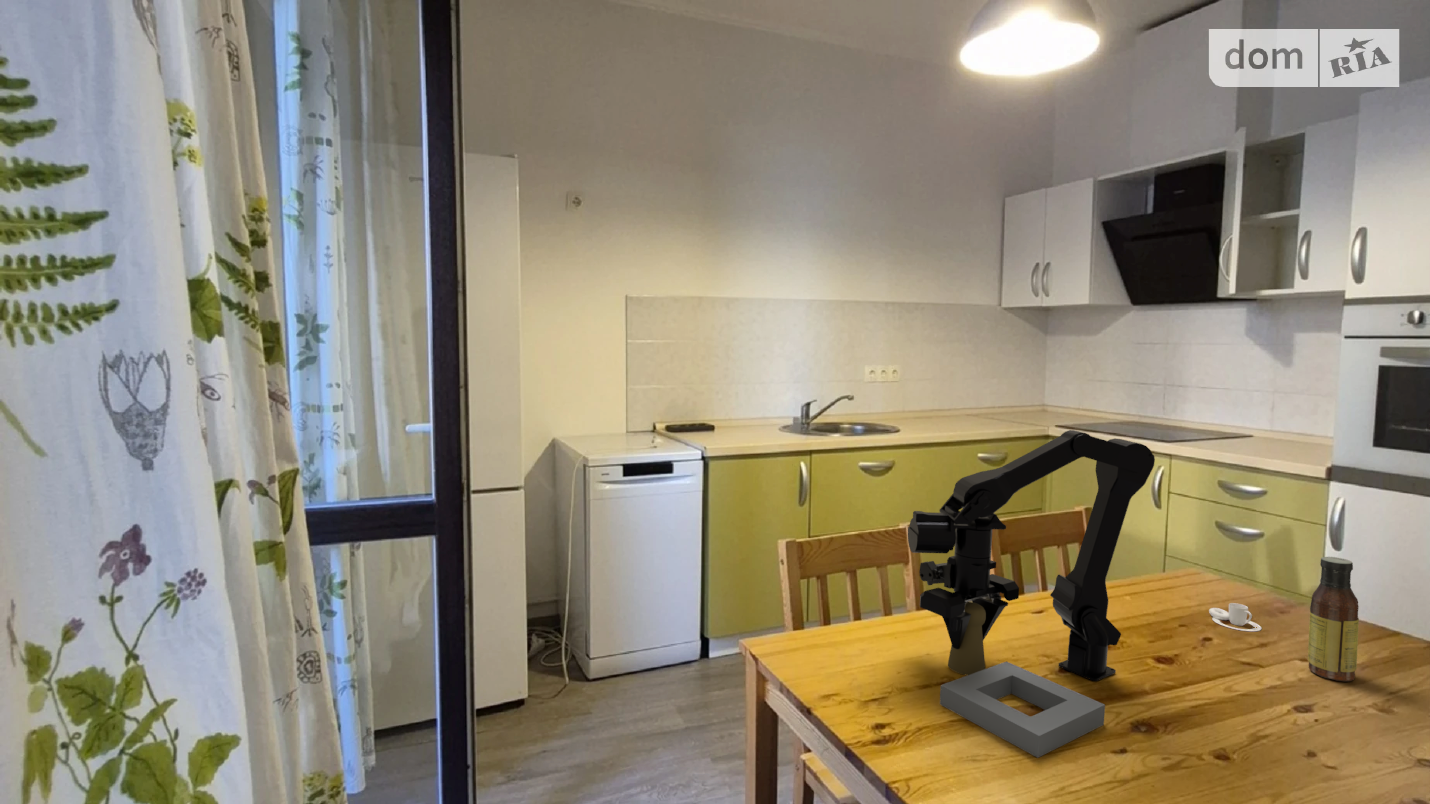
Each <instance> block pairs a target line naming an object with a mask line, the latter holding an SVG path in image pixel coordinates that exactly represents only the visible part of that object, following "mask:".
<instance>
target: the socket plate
mask: <svg viewBox="0 0 1430 804" xmlns="http://www.w3.org/2000/svg"><path fill="white" fill-rule="evenodd" d="M1011 694H1012V695H1014V696H1015V697H1017V698H1020V699H1021V700H1024V701H1025V702H1028V703H1030V704H1032V705H1034V706H1036V707H1038V708H1040V709H1043V711H1040V712H1038V713H1036V714H1034V715H1031V716H1030V715H1028V714H1026V713H1024V712H1022V711H1020V710H1018V709H1017V708H1014V707H1012V706H1010V705H1008V704H1006V703H1004V702H1002V701H999V699H1002V698H1004V697H1007V696H1010V695H1011ZM939 705H940V706H941V707H944V708H946V709H947V710H949V711H951V712H953V713H955V714H957V715H958V716H960V717H962V718H964V719H965V720H968V721H969V722H972V723H973V724H975V725H977V726H979V727H981V728H983V729H984V730H986V731H988V732H990V733H991V734H993V735H995V736H997V737H998V738H1000V739H1003V740H1004V741H1006V742H1007V743H1009V744H1012V745H1013V746H1016V747H1018V748H1019V749H1021V750H1023V751H1024V752H1026V753H1027V754H1030V755H1031V756H1033V757H1036V758H1037V759H1038V758H1040V757H1043V756H1044V755H1046V754H1048V753H1050V752H1052V751H1054V750H1056V749H1058V748H1060V747H1062V746H1064V745H1066V744H1068V743H1071V742H1072V741H1074V740H1076V739H1078V738H1079V737H1082V736H1085V735H1086V734H1088V733H1090V732H1092V731H1094V730H1096V729H1098V728H1100V727H1102V726H1104V724H1105V713H1106V712H1105V709H1106V704H1104V703H1102V702H1100V701H1098V700H1095V699H1093V698H1091V697H1088V696H1086V695H1084V694H1081V693H1079V692H1077V691H1075V690H1073V689H1070V688H1068V687H1066V686H1063V685H1061V684H1058V683H1056V682H1054V681H1052V680H1049V679H1048V678H1046V677H1043V676H1041V675H1038V674H1036V673H1033V672H1031V671H1030V670H1026V669H1024V668H1023V667H1020V666H1018V665H1016V664H1013V663H1011V662H1008V661H1003V662H1001V663H998V664H996V665H993V666H990V667H986V668H985V669H984V670H981V671H979V672H976V673H973V674H970V675H964V676H962V677H959V678H957V679H954V680H952V681H948V682H945V683H943V684H941V685H940V692H939Z"/></svg>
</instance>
